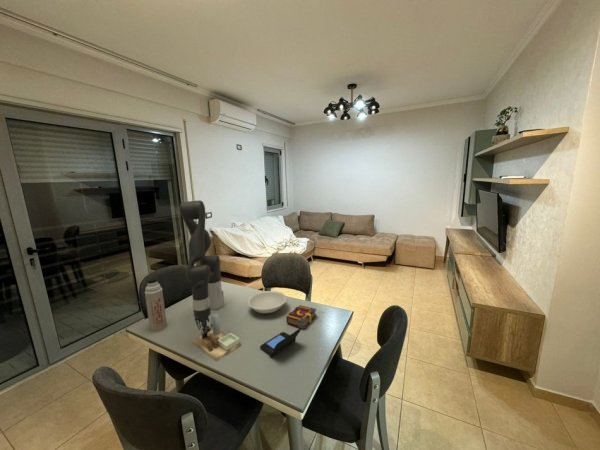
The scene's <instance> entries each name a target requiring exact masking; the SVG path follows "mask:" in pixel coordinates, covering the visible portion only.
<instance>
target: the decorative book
mask: <svg viewBox="0 0 600 450" xmlns="http://www.w3.org/2000/svg"><path fill="white" fill-rule="evenodd" d="M316 311H317V308H314V307H309V306H305V305H301V304H300V305H299V306H296V307H294V309H293V310H292V311H290V312H289V313H288V315H286V324H288V325H291V326H295V327H298V329H300V328H301V330H304V329H305V328H307V326H308V324H310V323H311V322H312V320H313V319H315V318H316V317H317V313H316Z"/></svg>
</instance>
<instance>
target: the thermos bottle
mask: <svg viewBox="0 0 600 450" xmlns="http://www.w3.org/2000/svg"><path fill="white" fill-rule="evenodd" d="M146 284H147V285H146V287H145V291H144V297H145V305H146V310H147V318H148V324H149V326H148V327H149V331H150V332H151V333H157V332H162V331H163V330H165V329H166V328H167V327H168V325H167V324H168V323H167V317H166V316H167V315H166V308H165V300H164V295H163V293H164V292H163V287H161V286H162V285H161V284H160V283H159V282H158V278H150V279H148V280H146Z"/></svg>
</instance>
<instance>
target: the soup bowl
mask: <svg viewBox="0 0 600 450" xmlns="http://www.w3.org/2000/svg"><path fill="white" fill-rule="evenodd" d="M287 299H288V298H287V296H286V295H285V294H284V293H282V292H279V291H276V290H268V291H261V292H257V293H254V294H252V295H251V296H250V297H249V298H247V302H246V303H247V305H248V307H250V309H252V310H253V311H255V312H257V313H259V314H272V313H275V312H276V311H278V310H280V309H281V308H282V307H283V306H284V305H285V304H286V302H287V301H288V300H287Z"/></svg>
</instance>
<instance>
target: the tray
mask: <svg viewBox="0 0 600 450" xmlns="http://www.w3.org/2000/svg"><path fill="white" fill-rule="evenodd" d="M240 338H241V337H238V336H237V335H235V334H233V333H232V332H230V333H228V334H227V335H226V336H224V337H222V338H221V339H219V340H218V345H219V346H220V347H222V348H223V349H225V350H226V351H228V350H230V349H231V348H233V347H234V346H236V345H238V344H239V343H241V341H240Z"/></svg>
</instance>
